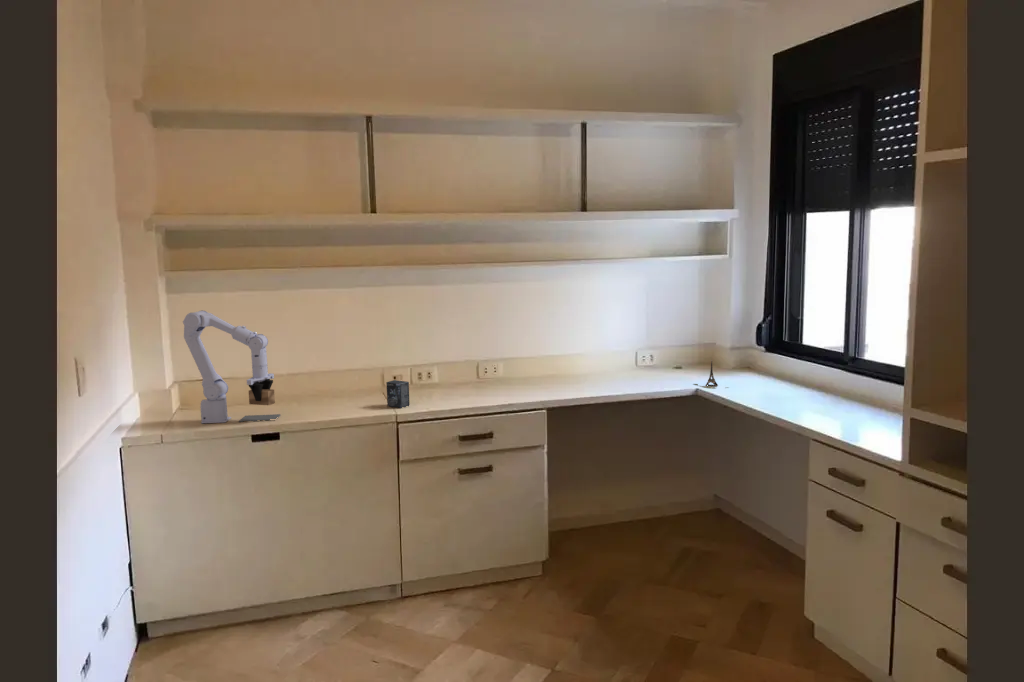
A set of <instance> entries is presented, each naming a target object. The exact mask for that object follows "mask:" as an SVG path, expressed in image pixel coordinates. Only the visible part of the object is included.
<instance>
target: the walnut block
mask: <svg viewBox="0 0 1024 682" xmlns="http://www.w3.org/2000/svg"><path fill="white" fill-rule="evenodd" d="M275 395H276V393H275V389H272V388H270V389H262V393H261V401H256V400H255V397H254V394H253V392H252V390H251V389H250V390H248V403H249V405H255V406H256V405H257V406H271V405H275V404H276V397H275Z"/></svg>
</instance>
